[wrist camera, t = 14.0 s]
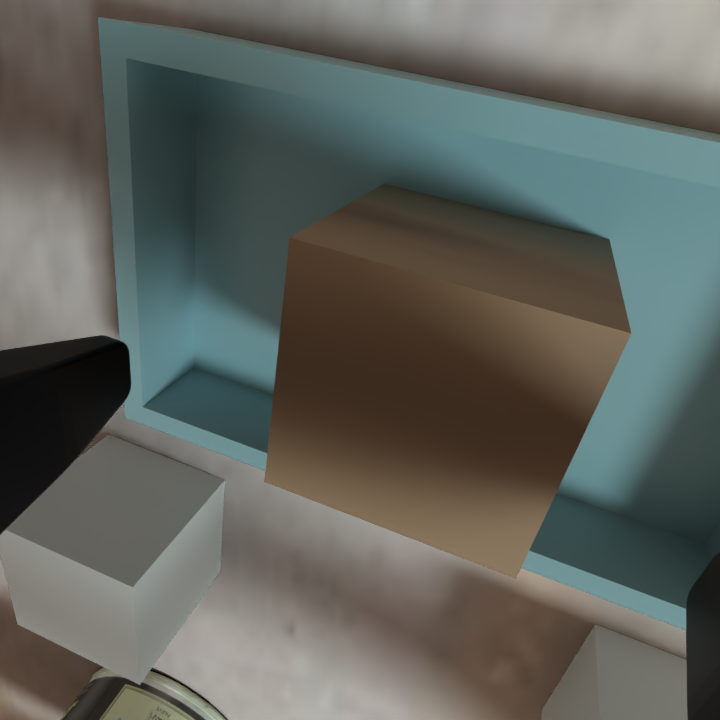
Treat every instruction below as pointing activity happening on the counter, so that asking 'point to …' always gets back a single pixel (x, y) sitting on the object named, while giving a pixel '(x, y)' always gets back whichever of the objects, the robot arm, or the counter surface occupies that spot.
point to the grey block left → (116, 555)
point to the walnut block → (441, 368)
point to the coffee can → (138, 700)
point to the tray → (438, 178)
